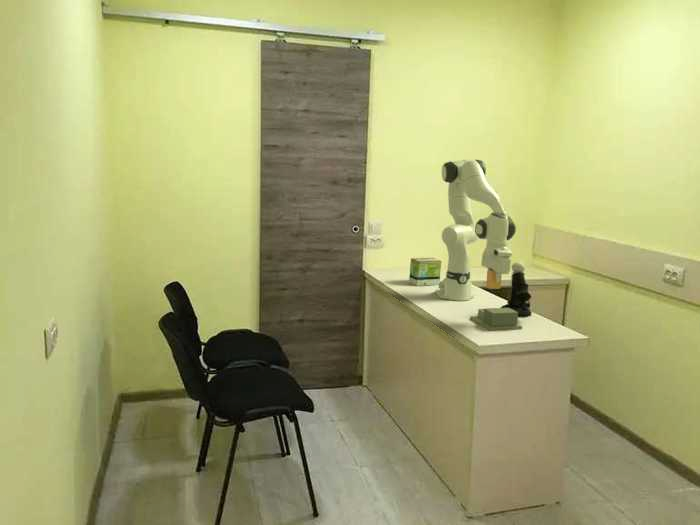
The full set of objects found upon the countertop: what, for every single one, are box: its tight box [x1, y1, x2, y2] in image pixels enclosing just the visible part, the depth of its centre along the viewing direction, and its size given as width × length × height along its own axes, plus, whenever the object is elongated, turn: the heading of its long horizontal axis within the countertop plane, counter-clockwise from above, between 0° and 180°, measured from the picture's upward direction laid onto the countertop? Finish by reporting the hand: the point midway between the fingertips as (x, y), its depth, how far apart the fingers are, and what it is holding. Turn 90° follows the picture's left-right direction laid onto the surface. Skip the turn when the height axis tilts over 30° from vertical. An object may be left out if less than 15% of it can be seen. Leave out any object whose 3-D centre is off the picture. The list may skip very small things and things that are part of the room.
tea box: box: [408, 257, 442, 287], centre depth 338 cm, size 15×10×15 cm
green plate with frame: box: [469, 307, 523, 331], centre depth 261 cm, size 18×16×7 cm
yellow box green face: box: [485, 268, 503, 290], centre depth 263 cm, size 4×5×9 cm
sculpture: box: [500, 261, 532, 318], centre depth 275 cm, size 15×24×25 cm, turn 179°
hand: (493, 280), depth 263 cm, fingers closed on yellow box green face, 4 cm apart
